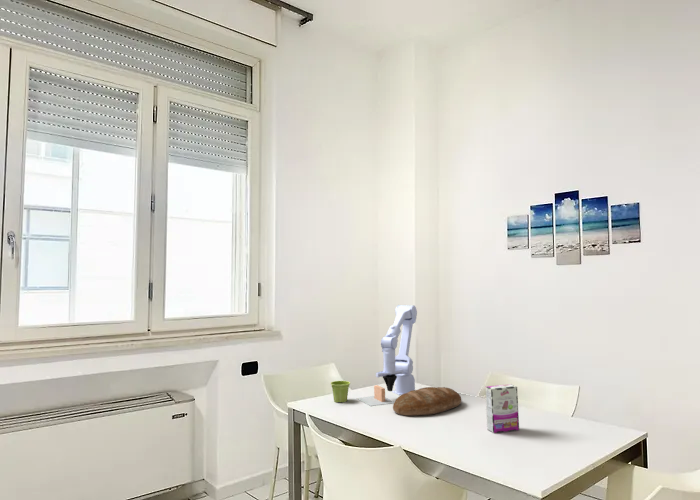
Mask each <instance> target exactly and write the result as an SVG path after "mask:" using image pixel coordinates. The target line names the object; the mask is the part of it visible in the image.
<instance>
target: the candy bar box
mask: <svg viewBox="0 0 700 500" xmlns="http://www.w3.org/2000/svg"><path fill="white" fill-rule="evenodd" d="M484 390H485V406H486V409H485V410H486V427H487V431H489V432H491V433H493V434H498V433H507V432H514V431H515V432H516V431H519V430H520V421H519V399H518V397H519V395H518V386H517V385H515V384H512V383H511V384H497V385H490V386H489V385H488V386H485V389H484Z"/></svg>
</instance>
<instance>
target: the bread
mask: <svg viewBox="0 0 700 500" xmlns="http://www.w3.org/2000/svg"><path fill="white" fill-rule="evenodd" d="M461 403H462V396H461V395H460V394H459V393H458V392H457V391H455V390H454V389H452V388H450V387H445V386H442V387H439V386H438V387H435V386H429V387H421V388H418V389H415V390H412V391H410V392H408V393H405V394H402V395H398V397H397V398H396V399H395V400H394V403H392V409H393V411H394V412H395V414H398V415H401V416H404V417H405V416H406V417H408V416H410V417H412V416H416V417H417V416H430V415H431V416H432V415H436V414H440V413H443V412H446V411H449V410H451V409H455V408H457V407H459V406H460V404H461Z"/></svg>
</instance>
